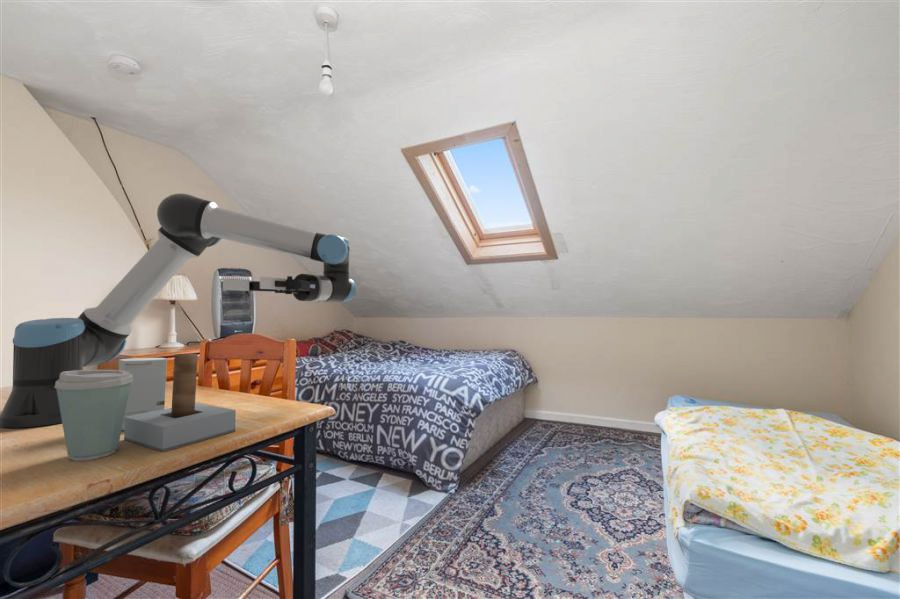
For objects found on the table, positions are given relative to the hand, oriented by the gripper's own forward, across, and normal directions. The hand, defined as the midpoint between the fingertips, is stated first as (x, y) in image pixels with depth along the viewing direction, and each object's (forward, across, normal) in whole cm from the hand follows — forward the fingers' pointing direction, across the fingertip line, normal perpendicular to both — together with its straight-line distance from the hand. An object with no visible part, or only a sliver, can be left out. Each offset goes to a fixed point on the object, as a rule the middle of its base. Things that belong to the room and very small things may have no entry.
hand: (241, 283), depth 94 cm
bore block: (+13, 0, -32) cm, 34 cm away
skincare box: (+13, +16, -32) cm, 38 cm away
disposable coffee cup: (+26, +2, -32) cm, 42 cm away
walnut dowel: (+13, 0, -31) cm, 34 cm away
